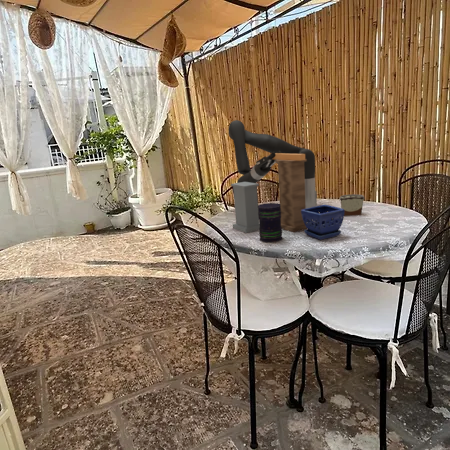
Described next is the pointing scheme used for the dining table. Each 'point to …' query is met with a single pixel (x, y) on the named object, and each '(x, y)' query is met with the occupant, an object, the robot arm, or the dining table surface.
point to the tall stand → (292, 193)
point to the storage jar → (270, 222)
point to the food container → (352, 204)
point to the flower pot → (323, 221)
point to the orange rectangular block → (289, 156)
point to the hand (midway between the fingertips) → (277, 153)
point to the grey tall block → (246, 206)
